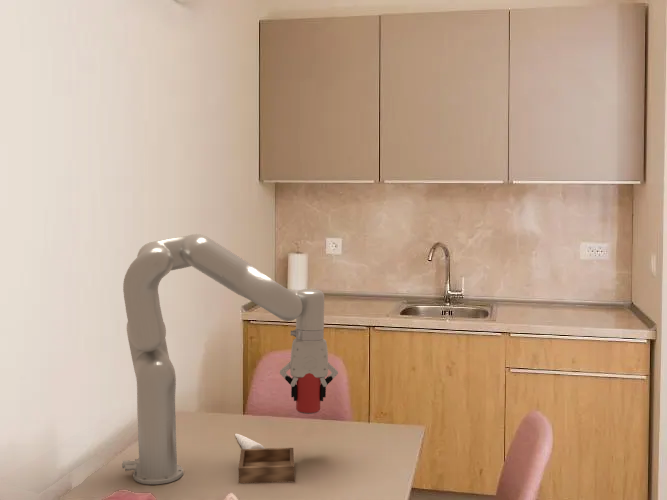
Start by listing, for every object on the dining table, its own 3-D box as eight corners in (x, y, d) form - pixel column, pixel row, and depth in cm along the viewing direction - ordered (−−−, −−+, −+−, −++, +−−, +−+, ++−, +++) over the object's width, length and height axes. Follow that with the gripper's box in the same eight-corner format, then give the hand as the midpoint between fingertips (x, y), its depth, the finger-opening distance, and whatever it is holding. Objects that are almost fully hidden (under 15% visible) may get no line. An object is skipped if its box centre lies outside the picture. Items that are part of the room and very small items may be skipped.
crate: (238, 483, 199) (238, 468, 199) (241, 463, 213) (241, 449, 213) (294, 481, 200) (294, 466, 200) (293, 462, 214) (293, 447, 214)
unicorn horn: (247, 434, 239) (247, 418, 238) (265, 461, 216) (265, 444, 216) (232, 436, 237) (231, 420, 237) (248, 463, 215) (248, 446, 214)
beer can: (324, 410, 217) (325, 367, 216) (311, 415, 212) (312, 371, 211) (305, 406, 221) (305, 363, 220) (291, 411, 215) (292, 368, 214)
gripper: (277, 337, 210) (276, 403, 212) (342, 338, 211) (341, 403, 213) (277, 332, 218) (276, 396, 219) (340, 332, 219) (339, 396, 220)
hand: (308, 399), depth 216 cm, fingers closed on beer can, 6 cm apart
